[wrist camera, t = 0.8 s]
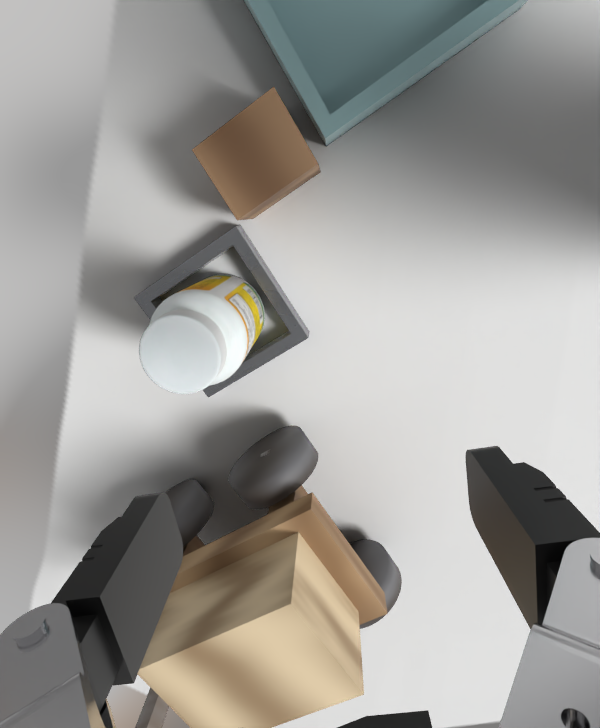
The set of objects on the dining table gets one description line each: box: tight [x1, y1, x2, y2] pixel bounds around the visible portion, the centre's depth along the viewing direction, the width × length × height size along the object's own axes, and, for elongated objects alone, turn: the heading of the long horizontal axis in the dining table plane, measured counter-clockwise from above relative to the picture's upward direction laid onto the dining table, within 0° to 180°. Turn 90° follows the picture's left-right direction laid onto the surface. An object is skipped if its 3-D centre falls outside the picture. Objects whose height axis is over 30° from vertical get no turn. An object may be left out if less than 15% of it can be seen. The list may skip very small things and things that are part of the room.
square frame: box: [134, 225, 309, 397], centre depth 29 cm, size 8×8×2 cm
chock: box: [192, 87, 320, 220], centre depth 24 cm, size 5×4×5 cm
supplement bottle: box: [139, 274, 265, 394], centre depth 25 cm, size 5×5×10 cm
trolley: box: [135, 426, 401, 728], centre depth 26 cm, size 15×14×19 cm
